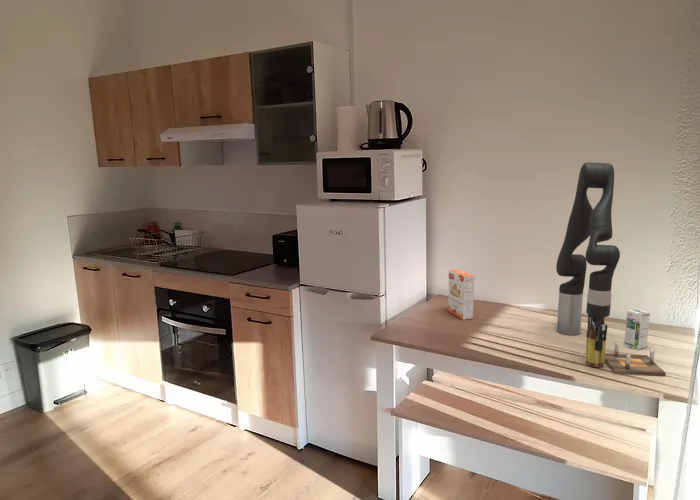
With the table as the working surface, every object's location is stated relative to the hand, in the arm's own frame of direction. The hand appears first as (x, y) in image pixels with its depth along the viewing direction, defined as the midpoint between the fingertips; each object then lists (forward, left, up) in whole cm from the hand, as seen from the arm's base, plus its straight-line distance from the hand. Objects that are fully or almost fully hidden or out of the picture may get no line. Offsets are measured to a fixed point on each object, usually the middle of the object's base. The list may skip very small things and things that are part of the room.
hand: (595, 346), depth 183 cm
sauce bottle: (0, 0, -7) cm, 7 cm away
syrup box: (-21, +21, -7) cm, 30 cm away
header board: (-1, +12, -7) cm, 14 cm away
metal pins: (-1, +14, -5) cm, 15 cm away
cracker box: (-54, -44, -7) cm, 70 cm away
